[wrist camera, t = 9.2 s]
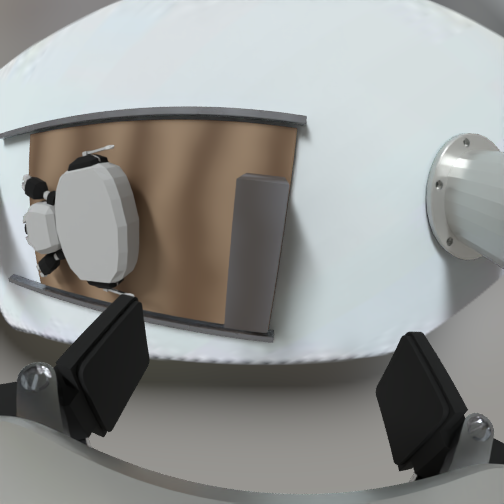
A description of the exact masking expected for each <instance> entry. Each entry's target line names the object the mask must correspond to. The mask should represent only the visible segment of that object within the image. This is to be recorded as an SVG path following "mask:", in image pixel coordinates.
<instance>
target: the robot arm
mask: <svg viewBox="0 0 504 504" xmlns="http://www.w3.org/2000/svg"><path fill="white" fill-rule="evenodd" d="M426 201H427V213H428V218H429V223H430V226H431V228H432V231H433V234H434V236H435V237H436V239H437V241H438V243H439V244H440V245H441V246H442V247H443V248H444V249H445V250H446V251H447V252H449V253H450V254H451V255H453V256H455V257H457V258H459V259H463V260H475V259H477V258H480V257H482V256H484V257H486V258H487V259H489V260H490V261H492V262H493V263H495V264H497V265H498V266H500V267H501V268H503V269H504V152H500V150H499V149H498V148H497V146H496V145H495V144H494V143H493V142H492V141H490V140H489V139H488V138H486V137H484V136H482V135H479V134H472V133H467V134H460V135H457V136H455V137H452V138H451V139H450V140H449V141H447V142H446V143H445V144H444V145H443V147H442V148H441V149H440V150H439V152H438V154H437V156H436V157H435V159H434V161H433V164H432V167H431V170H430V173H429V178H428V183H427V196H426ZM56 364H57V365H56V366H55V367H54V368H52V366H50V365H48V364H47V363H43V362H36V363H32V364H29V365H27V366H25V367H24V368H23V369H22V370H21V371H20V373H19V375H18V378H17V382H12V383H6V384H0V504H504V443H502V442H500V441H498V440H496V439H494V438H493V437H494V428H493V425H492V423H491V422H490V420H489V419H488V418H487V417H485V416H484V415H482V414H479V413H473V414H470V415H468V416H467V417H466V418H465V417H464V414H465V413H466V411H467V410H468V409H467V407H466V406H465V403H464V402H463V400H462V398H461V396H460V394H459V392H458V390H457V389H456V387H455V385H454V383H453V381H452V380H451V378H450V376H449V375H448V373H447V371H446V369H445V368H444V366H443V364H442V363H441V361H440V359H439V358H438V356H437V354H436V353H435V351H434V350H433V348H432V346H431V345H430V343H429V342H428V340H427V338H426V337H425V335H424V334H423V333H422V332H407V333H406V334H405V335H404V336H402V338H401V339H400V342H399V344H398V346H397V348H396V350H395V352H394V354H393V357H392V358H391V361H390V362H389V365H388V366H387V368H386V370H385V372H384V374H383V376H382V378H381V380H380V382H379V384H378V385H377V388H376V397H377V400H378V403H379V407H380V410H381V413H382V417H383V421H384V424H385V428H386V432H387V436H388V440H389V443H390V447H391V452H392V455H393V460H394V463H395V464H397V465H398V468H399V471H403V470H408V469H412V468H414V474H413V476H412V477H411V480H410V481H409V482H408V483H404V484H399V485H394V486H389V487H383V488H377V489H370V490H364V491H355V492H345V493H331V494H274V493H260V492H250V491H242V490H234V489H227V488H221V487H215V486H209V485H205V484H200V483H195V482H191V481H187V480H182V479H179V478H175V477H171V476H167V475H163V474H160V473H157V472H154V471H151V470H148V469H145V468H141V467H139V466H136V465H133V464H130V463H128V462H125V461H123V460H120V459H117V458H115V457H112V456H110V455H107V454H105V453H103V452H100V451H98V450H96V449H94V448H91V445H90V441H89V436H90V435H91V433H92V432H93V433H95V434H97V435H99V436H102V437H104V436H105V435H106V433H107V431H108V432H110V431H112V429H113V428H114V426H115V424H116V422H117V421H118V419H119V417H120V415H121V413H122V411H123V410H124V408H125V406H126V404H127V402H128V401H129V399H130V397H131V395H132V393H133V391H134V390H135V388H136V386H137V385H138V383H139V381H140V379H141V377H142V376H143V374H144V372H145V371H146V369H147V367H148V364H149V353H148V346H147V339H146V332H145V324H144V316H143V307H142V303H141V302H139V301H138V298H137V297H134V296H130V295H125V294H121V295H120V296H119V297H118V298H117V299H116V300H115V301H114V302H113V303H112V304H111V305H110V306H109V307H108V308H107V309H106V310H105V311H104V312H103V313H102V314H101V315H100V316H99V317H98V318H97V319H96V320H95V321H94V322H93V323H92V324H91V325H90V326H89V327H88V328H87V329H86V330H85V331H84V332H83V333H82V334H81V335H80V336H79V338H78V339H77V340H76V341H75V342H74V343H73V344H72V345H71V346H70V347H69V348H68V349H67V351H66V352H65V353H64V354H63V355H62V356H61V357H60V358H59V359H58V361H57V362H56Z"/></svg>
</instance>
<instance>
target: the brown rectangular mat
mask: <svg viewBox="0 0 504 504" xmlns="http://www.w3.org/2000/svg"><path fill="white" fill-rule="evenodd" d="M296 135H297V128H292V127H284V126H277V125H268V124H259V123H248V122H235V121H219V120H187V119H169V120H137V121H122V122H109V123H99V124H90V125H82V126H75V127H68V128H62V129H56V130H50V131H45V132H40V133H35V134H31V135H30V152H29V175H30V176H31V177H38V178H40V179H41V180H43V181H45V182H46V183H47V186H48V190H49V192H51V191H56V188H57V185H58V182H59V179H60V177H61V176H62V175H63V174H64V173H65V172H66V171H67V170H68V167H69V164H71V163H72V162H73V161H74V160H76V159H77V158H78V157H82V156H83V155H82V152H85V151H93V150H96V149H99V148H103V147H105V146H108V145H114V148H113V149H108V150H103V151H99V152H96V153H92V154H98V155H101V156H104V157H107V159H108V161H109V162H110V163H112V164H115V165H118V166H120V168H121V169H122V170H123V172H124V173H125V175H126V176H127V178H128V181H129V183H130V186H131V189H132V192H133V196H134V200H135V204H136V208H137V213H138V217H139V253H138V260H137V263H136V265H135V267H134V269H133V271H132V272H130V273H129V274H128V275H127V276H125V277H124V281H122V282H121V283H120V284H119V285H117V286H116V287H114V288H113V289H116V290H119V291H122V292H125V293H128V294H129V293H131V294H133V295H134V297H137V298H138V301H139V302H141V303H142V307H143V310H147V311H151V312H156V313H161V314H167V315H172V316H177V317H183V318H188V319H194V320H200V321H206V322H213V323H219V324H224V328H231V329H238V330H246V331H253V332H262V333H267V332H268V329H269V323H270V318H271V312H272V306H273V300H274V293H275V287H276V281H277V275H278V268H279V262H280V255H281V248H282V242H283V235H284V228H285V221H286V214H287V207H288V199H289V192H290V184H291V176H292V169H293V160H294V152H295V144H296ZM44 200H46V199H40V200H33V199H32V198H30V206H31V205H32V204H35V203H38V202H41V201H44ZM35 254H36V260H37V264H38V262H39V261H40V260H41V259H42V258H43V257H44V256H45V255H46V254H40V253H38V252H36V251H35ZM40 273H41V271H40V270H39V276H40V281H41V284H44V285H48V286H51V287H54V288H58V289H61V290H65V291H68V292H72V293H75V294H79V295H83V296H87V297H91V298H94V299H98V300H102V301H107V302H111V303H113V302H114V301H115V300H116V299H117V298H118V297H119V296H120V294H117V293H114V292H111V291H108V292H106V291H103V288H97V287H95V286H92V285H89V284H88V282H87V281H86V280H80V278H79V277H78V276H77V275H76V274H75V273H74V272H73V270H72V269H71V268H70V266H69V264H68V262H67V260H66V259H63V260H60V265H59V266H58V267H57V269H55V270H54V271H53V272H52V273H51V274H48V275H47V277H41V275H40Z"/></svg>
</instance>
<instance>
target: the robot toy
mask: <svg viewBox="0 0 504 504" xmlns="http://www.w3.org/2000/svg"><path fill="white" fill-rule="evenodd" d="M113 148H114V145H108V146H105V147H103V148H99V149H96V150H93V151H85V152H82V155H83V156H82V157H78V158H77V159H76V160H74V161H73V162H72V163H71V164H69V167H68V170H67V171H66V172H65V173H64V174H63V175H62V176H61V177H60V179H59V182H58V185H57V188H56V191H51V192H49V190H48V186H47V183H46V182H45V181H43V180H41V179H40V178H38V177H31V176H30V175H27V174H26V175H24V176H23V181H24V183H22V189H23V190H24V191H25V194H26V195H27V196H29V197H30V198H32V199H33V200H40V199H46V200H44V201H41V202H38V203H35V204H32V205H31V206H30V207H29V209H28V212H27V213H26V214H25V215H24V216H23V223H26V224H25V232H26V234H27V235H28V236H27V237H26V240H27V242H28V244H29V245H31V246H32V247H33V248H34V250H35V251H36V252H38V253H40V254H46V255H45V256H44V257H43V258H42V259H41V260H40V261H39V262H38V264H37V269H38V271H39V270H40V271H41V273H40V275H41V277H47V275H48V274H51V273H52V272H53V271H54V270H55V269H57V267H58V266H59V265H60V260H63V259H66V260H67V262H68V264H69V266H70V268H71V269H72V270H73V272H74V273H75V274H76V275H77V276H78V277H79V278H80V280H86V281H87V282H88V284H89V285H92V286H95V287H97V288H103V291H106V292H108V291H111V292H114V293H117V294H120V295H121V294H125V295H130V296H134V295H133V294H131V293H129V294H128V293H125V292H122V291H119V290H116V289H113V288H114V287H116V286H117V285H119V284H120V283H121V282H122V281H124V277H125V276H127V275H128V274H129V273H130V272H132V271H133V269H134V267H135V265H136V263H137V260H138V253H139V217H138V213H137V208H136V204H135V200H134V196H133V192H132V189H131V186H130V183H129V181H128V178H127V176H126V175H125V173H124V172H123V170H122V169H121V168H120V166H118V165H115V164H112V163H110V162H109V161H108V159H107V157H104V156H101V155H98V154H92V153H96V152H99V151H103V150H108V149H113Z"/></svg>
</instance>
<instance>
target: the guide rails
mask: <svg viewBox="0 0 504 504" xmlns="http://www.w3.org/2000/svg"><path fill="white" fill-rule="evenodd" d="M147 116H216V117H233V118H247V119H258V120H267V121H276V122H284V123H291V124H298V125H305V124H306V119H307V116H303V115H296V114H289V113H281V112H273V111H264V110H253V109H241V108H224V107H152V108H136V109H124V110H114V111H105V112H97V113H90V114H83V115H77V116H71V117H66V118H60V119H55V120H51V121H46V122H42V123H37V124H33V125H29V126H25V127H22V128H18V129H14V130H11V131H8V132H4V133H1V134H0V139H4V138H8V137H11V136H15V135H19V134H23V133H27V132H32V131H36V130H41V129H46V128H51V127H56V126H62V125H68V124H74V123H81V122H89V121H97V120H106V119H116V118H129V117H147ZM9 282H12V283H14V284H17V285H20V286H22V287H25V288H28V289H31V290H34V291H37V292H39V293H42V294H45V295H48V296H51V297H55V298H58V299H61V300H64V301H67V302H71V303H74V304H78V305H81V306H84V307H88V308H92V309H95V310H99V311H103V312H104V311H105V310H106V309H107V308H108V307H109V306H110V305H111V304H112V303H111V302H107V301H102V300H98V299H94V298H91V297H87V296H83V295H79V294H75V293H72V292H68V291H65V290H61V289H58V288H54V287H51V286H48V285H44V284H41V283H38V282H35V281H32V280H29V279H26V278H23V277H20V276H17V275H12V276H11V277H9ZM143 316H144V322H149V323H153V324H158V325H163V326H168V327H173V328H178V329H183V330H189V331H194V332H200V333H206V334H212V335H219V336H225V337H232V338H239V339H247V340H255V341H263V342H272V343H273V338H274V330H268V332H267V333H262V332H253V331H246V330H238V329H231V328H224V324H219V323H213V322H206V321H200V320H194V319H188V318H183V317H177V316H172V315H167V314H161V313H156V312H151V311H147V310H143Z"/></svg>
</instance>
